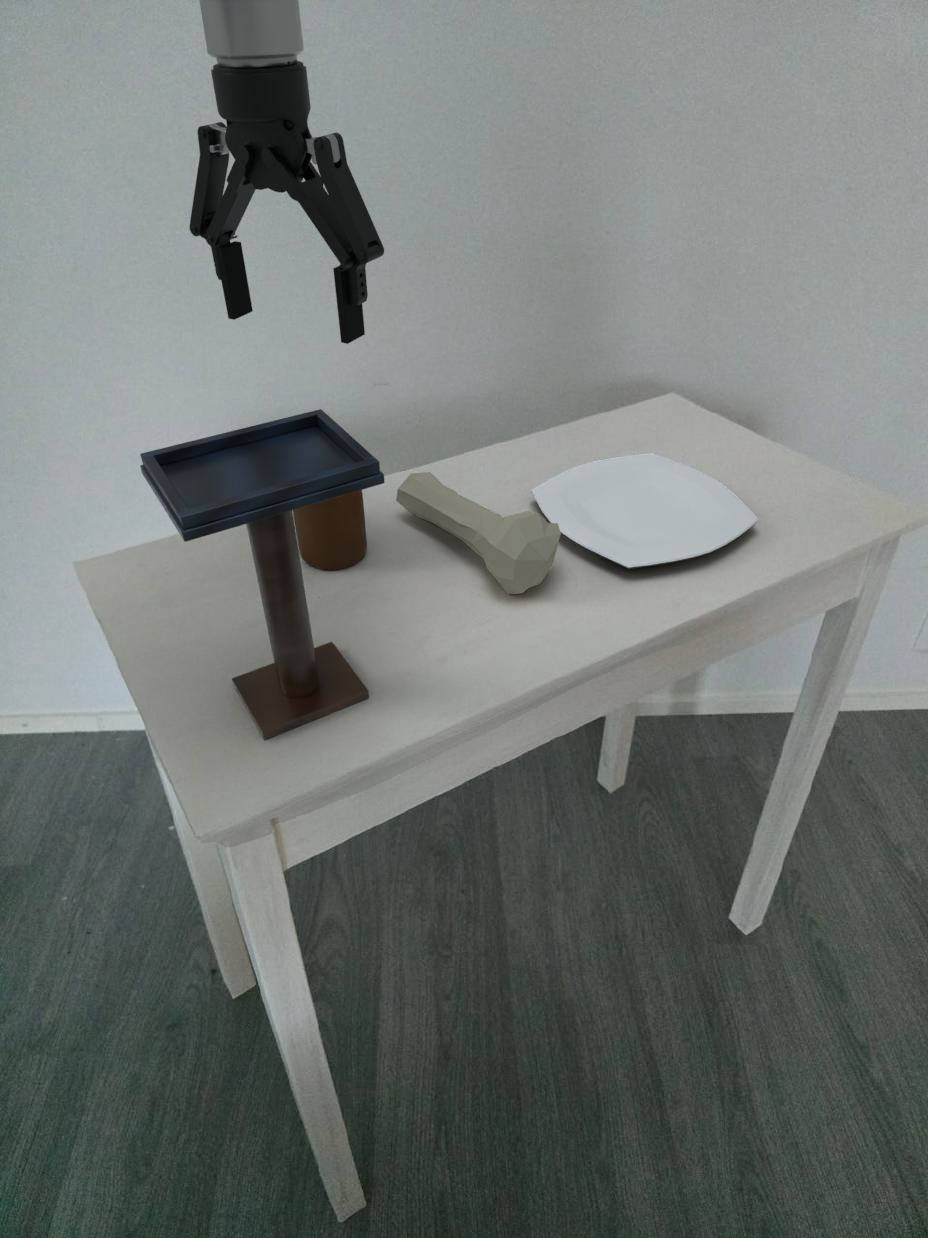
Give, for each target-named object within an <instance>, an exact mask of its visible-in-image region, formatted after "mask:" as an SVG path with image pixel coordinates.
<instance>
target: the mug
mask: <svg viewBox="0 0 928 1238" xmlns="http://www.w3.org/2000/svg"><path fill="white" fill-rule="evenodd" d="M292 513H293V519H294V525H295V532H296V538H297V544H298V551H299V555H300V557H301V558H302V560H303V561H304V562H305V563H307V564H308V565H309V566H311V567H314V568H316V569H320V570H340V569H344V568H347V567H351V566H352V565H354V564H356V563H359V561H360V560H361V559H363V558H364V556H365V554H366V552H367V548H368V541H367V540H368V538H367V528H366V527H367V526H366V515H365V505H364V494H363V490H359V491H356V492H353V493H349V494H346V495H342V496H339V497H336V498H332V499H329V500H325V501H322V502H319V503H315V504H312V505H308V506H305V507H302V508H298V509H295V510H292Z"/></svg>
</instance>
